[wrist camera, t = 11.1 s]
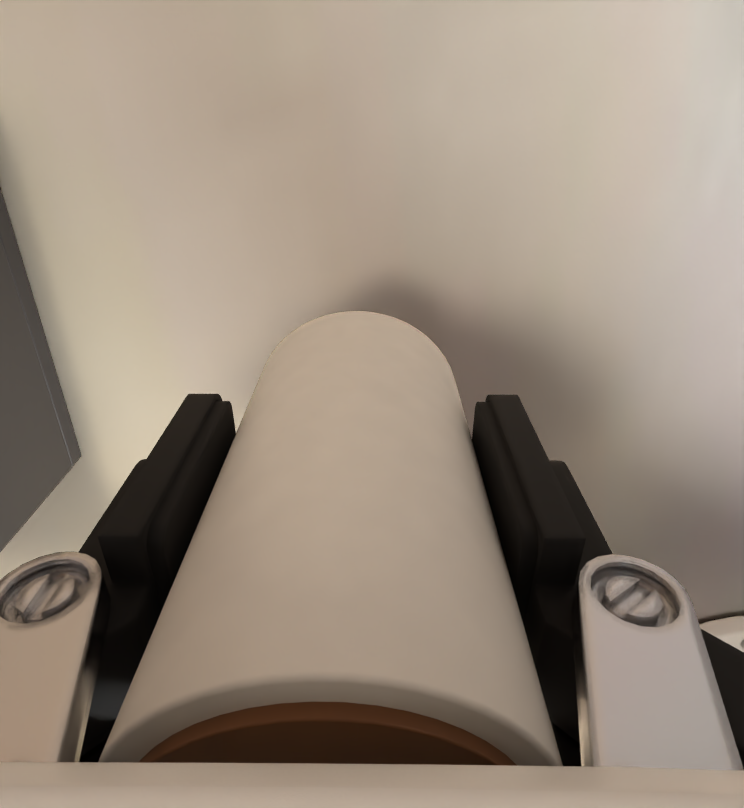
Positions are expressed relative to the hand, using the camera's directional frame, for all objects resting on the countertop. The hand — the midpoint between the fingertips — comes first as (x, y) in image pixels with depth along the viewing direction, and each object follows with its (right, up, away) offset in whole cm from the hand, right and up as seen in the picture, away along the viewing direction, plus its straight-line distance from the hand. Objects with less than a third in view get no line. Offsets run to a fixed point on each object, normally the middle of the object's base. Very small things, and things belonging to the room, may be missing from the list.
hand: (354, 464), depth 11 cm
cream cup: (0, +1, +2) cm, 2 cm away
